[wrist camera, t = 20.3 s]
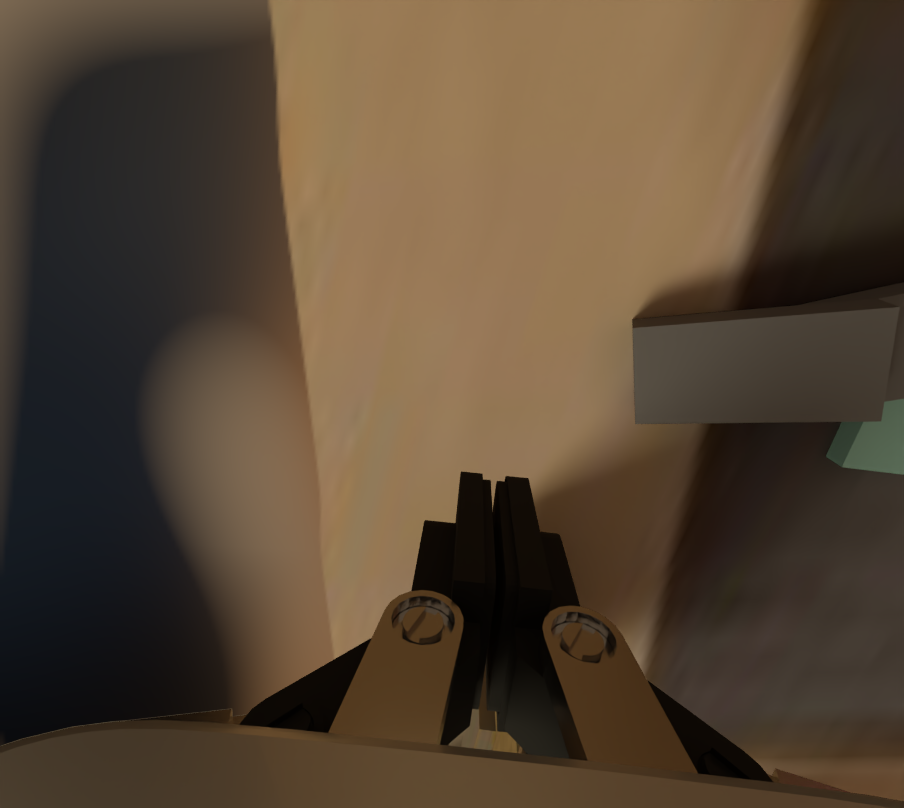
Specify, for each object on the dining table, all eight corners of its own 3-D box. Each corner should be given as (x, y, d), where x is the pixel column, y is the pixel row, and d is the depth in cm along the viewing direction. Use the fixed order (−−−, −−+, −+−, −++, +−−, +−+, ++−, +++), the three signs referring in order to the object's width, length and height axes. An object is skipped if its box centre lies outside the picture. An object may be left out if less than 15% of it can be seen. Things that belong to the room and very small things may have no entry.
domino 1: (634, 409, 26) (861, 404, 22) (635, 424, 24) (881, 421, 21) (632, 319, 24) (876, 298, 21) (632, 328, 22) (899, 307, 19)
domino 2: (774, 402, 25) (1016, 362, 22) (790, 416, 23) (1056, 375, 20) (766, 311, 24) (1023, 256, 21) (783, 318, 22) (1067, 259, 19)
